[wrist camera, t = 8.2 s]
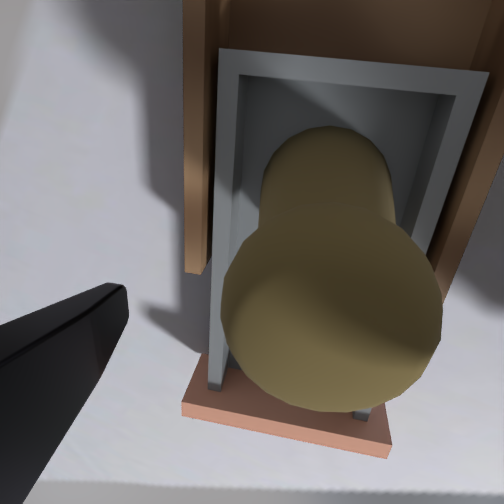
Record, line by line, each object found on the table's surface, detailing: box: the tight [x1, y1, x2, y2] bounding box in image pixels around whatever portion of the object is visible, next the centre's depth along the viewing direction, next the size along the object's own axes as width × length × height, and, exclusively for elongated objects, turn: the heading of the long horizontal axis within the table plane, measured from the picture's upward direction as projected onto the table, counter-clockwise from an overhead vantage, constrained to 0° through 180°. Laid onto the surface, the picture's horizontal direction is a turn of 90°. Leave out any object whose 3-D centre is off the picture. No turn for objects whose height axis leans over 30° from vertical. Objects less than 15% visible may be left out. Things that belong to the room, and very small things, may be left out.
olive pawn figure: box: [220, 125, 443, 412], centre depth 12 cm, size 6×6×11 cm
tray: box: [182, 48, 490, 459], centre depth 18 cm, size 19×12×4 cm, turn 175°
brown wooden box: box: [183, 0, 504, 305], centre depth 14 cm, size 19×12×4 cm, turn 176°
